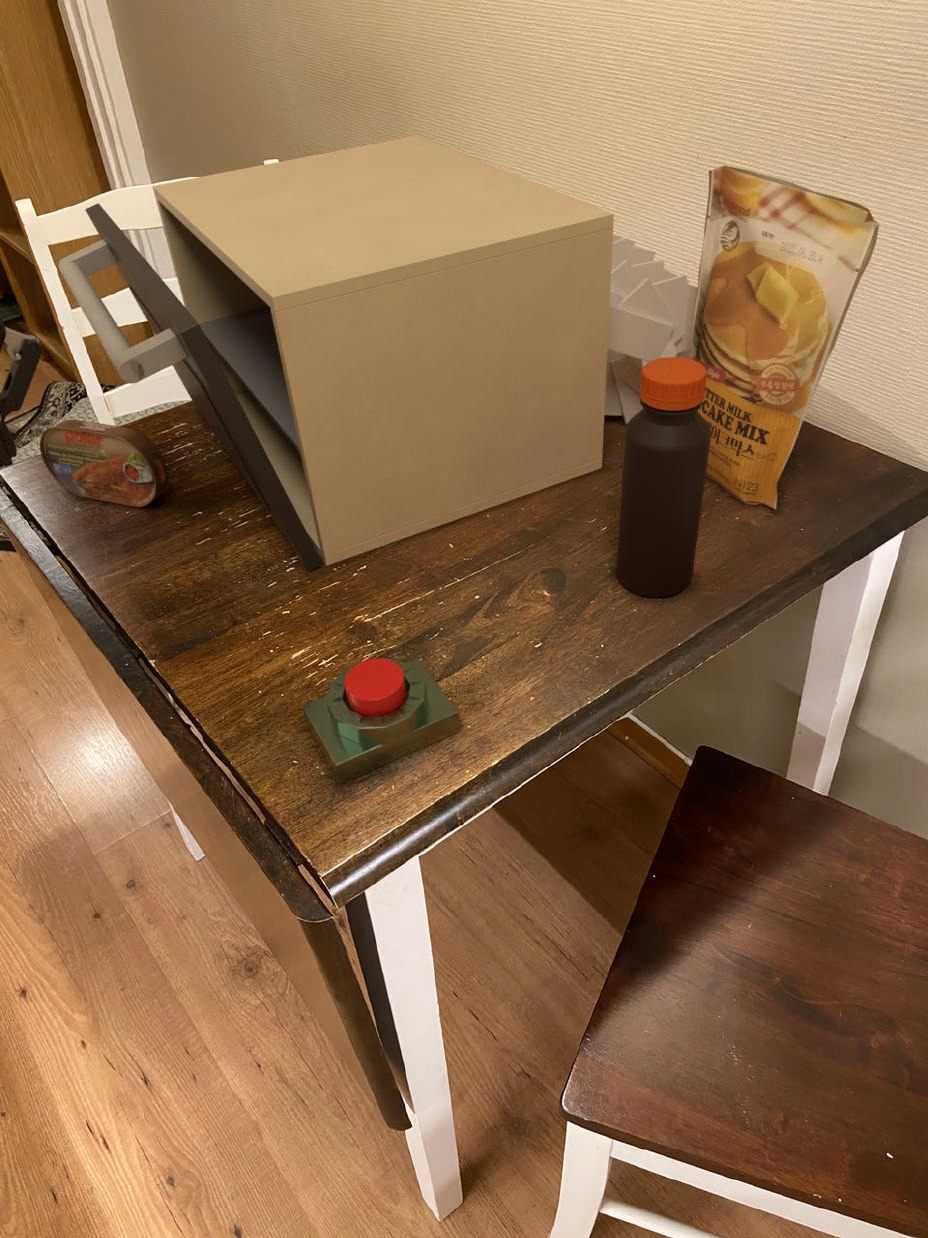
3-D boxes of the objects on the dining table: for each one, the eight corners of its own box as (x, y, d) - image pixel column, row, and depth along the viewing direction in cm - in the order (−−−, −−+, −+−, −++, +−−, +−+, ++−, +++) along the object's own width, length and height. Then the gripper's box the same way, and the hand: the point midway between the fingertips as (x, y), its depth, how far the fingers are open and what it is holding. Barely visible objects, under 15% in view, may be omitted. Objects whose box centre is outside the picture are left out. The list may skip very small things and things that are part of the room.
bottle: (600, 573, 81) (610, 369, 68) (652, 545, 84) (672, 343, 71) (654, 609, 77) (676, 399, 64) (707, 578, 80) (739, 370, 67)
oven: (326, 566, 85) (271, 296, 68) (211, 405, 112) (152, 185, 95) (602, 468, 95) (614, 213, 78) (435, 343, 123) (417, 135, 106)
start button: (361, 725, 64) (358, 708, 63) (338, 688, 67) (335, 671, 66) (416, 702, 65) (413, 685, 64) (391, 667, 68) (388, 650, 67)
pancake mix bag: (704, 424, 101) (739, 155, 83) (820, 505, 87) (892, 205, 69) (654, 439, 99) (679, 167, 81) (764, 524, 85) (824, 220, 67)
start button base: (341, 786, 64) (332, 750, 62) (305, 723, 69) (296, 687, 67) (461, 732, 67) (458, 696, 65) (419, 675, 72) (415, 639, 70)
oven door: (258, 601, 83) (112, 366, 65) (158, 430, 111) (36, 231, 92) (323, 564, 84) (198, 323, 66) (208, 404, 112) (98, 202, 94)
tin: (54, 492, 98) (24, 424, 93) (73, 477, 100) (45, 410, 95) (164, 514, 93) (140, 443, 88) (181, 498, 96) (159, 428, 90)
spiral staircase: (593, 374, 121) (687, 450, 102) (480, 342, 113) (561, 418, 94) (650, 239, 113) (765, 293, 94) (533, 194, 105) (633, 244, 86)
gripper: (-5, 215, 66) (76, 422, 78) (-202, 253, 62) (-86, 467, 73) (7, 241, 61) (92, 459, 72) (-207, 284, 57) (-81, 509, 68)
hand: (2, 462), depth 73 cm, fingers closed
